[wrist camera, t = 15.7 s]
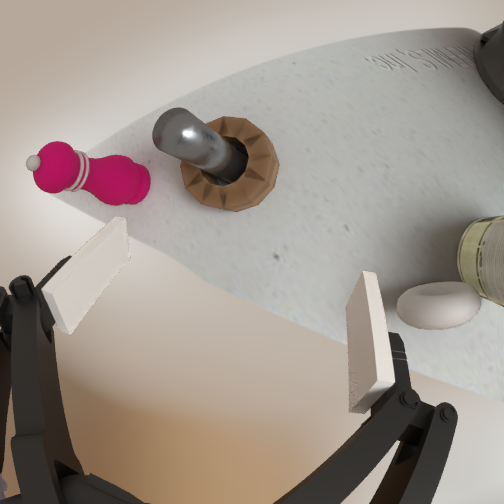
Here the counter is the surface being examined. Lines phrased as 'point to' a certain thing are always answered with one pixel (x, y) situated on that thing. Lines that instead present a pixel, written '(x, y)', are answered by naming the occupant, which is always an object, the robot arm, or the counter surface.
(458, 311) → the donut
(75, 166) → the pepper mill
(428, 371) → the counter surface
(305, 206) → the counter surface
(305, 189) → the counter surface
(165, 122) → the metal cylinder peg
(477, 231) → the coffee can
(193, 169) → the bead
